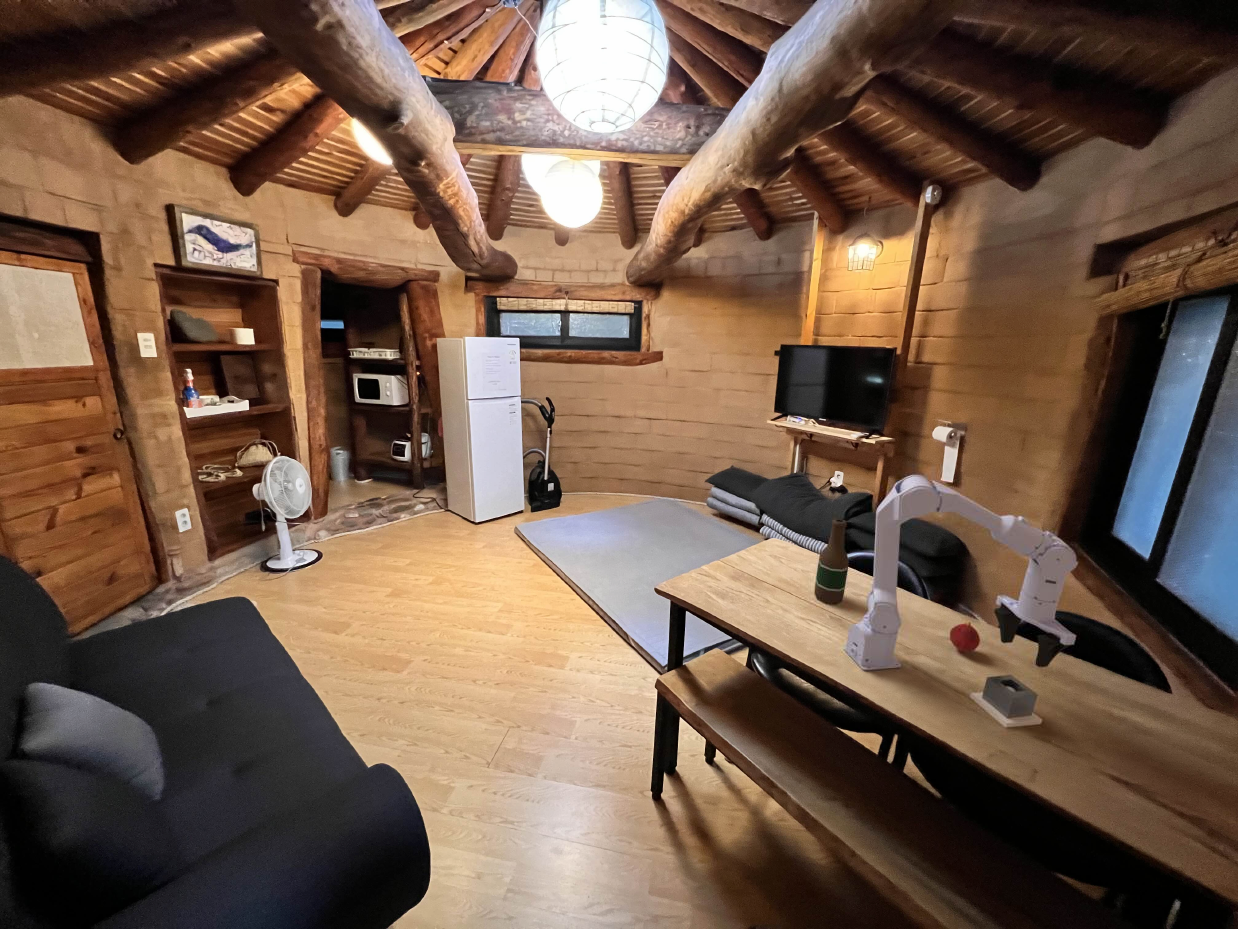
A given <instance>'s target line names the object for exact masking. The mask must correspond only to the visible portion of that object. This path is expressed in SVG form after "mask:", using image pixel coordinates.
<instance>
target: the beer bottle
mask: <svg viewBox="0 0 1238 929" xmlns="http://www.w3.org/2000/svg"><path fill="white" fill-rule="evenodd" d="M831 524H832V525H831V526H832V527H831V530H830V537H829V540H828V544H827V546H825V547H824V548H823V549H822V550H821V552H820V554H819V558H818V561H817V562H818V563H817V567H816V568H817V569H816V574H815V575H816V576H815V584H814V593H813V594H814V595H815V598H816V600H817V601H820V602H822V603H824V604H825V605H834V606H835V605H836V606H837V605H838V604H841V603H842V602H843V600H844V596H845V590H846V584H847V579H848V578H847V577H848V571H849V565H850V564H849V562H850V560H849V557H848V554H847V551H846V550H845V535H846V527H847V526H848V524H847V521H846V520H844V519H841V518H835V519H833V520H832V521H831Z"/></svg>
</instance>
